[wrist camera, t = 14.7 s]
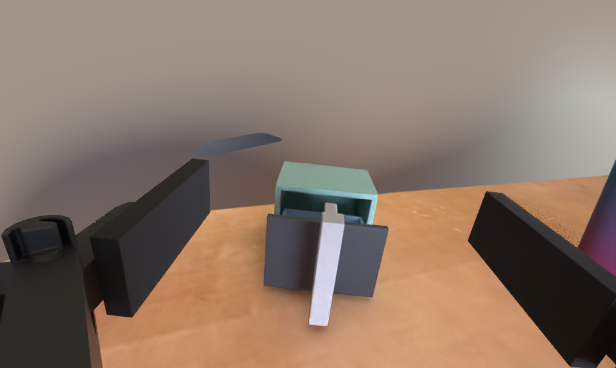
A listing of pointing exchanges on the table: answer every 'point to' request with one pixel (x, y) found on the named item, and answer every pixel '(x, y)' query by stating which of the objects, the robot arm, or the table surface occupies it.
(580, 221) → the table surface
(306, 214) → the dark grey drawer
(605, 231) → the cup
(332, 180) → the box
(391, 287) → the table surface
